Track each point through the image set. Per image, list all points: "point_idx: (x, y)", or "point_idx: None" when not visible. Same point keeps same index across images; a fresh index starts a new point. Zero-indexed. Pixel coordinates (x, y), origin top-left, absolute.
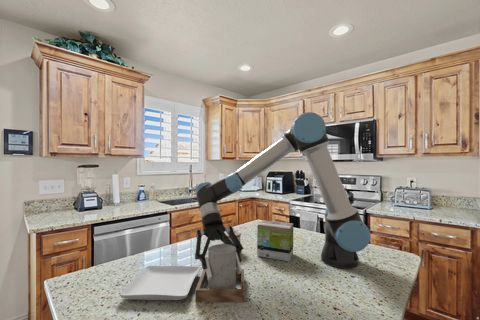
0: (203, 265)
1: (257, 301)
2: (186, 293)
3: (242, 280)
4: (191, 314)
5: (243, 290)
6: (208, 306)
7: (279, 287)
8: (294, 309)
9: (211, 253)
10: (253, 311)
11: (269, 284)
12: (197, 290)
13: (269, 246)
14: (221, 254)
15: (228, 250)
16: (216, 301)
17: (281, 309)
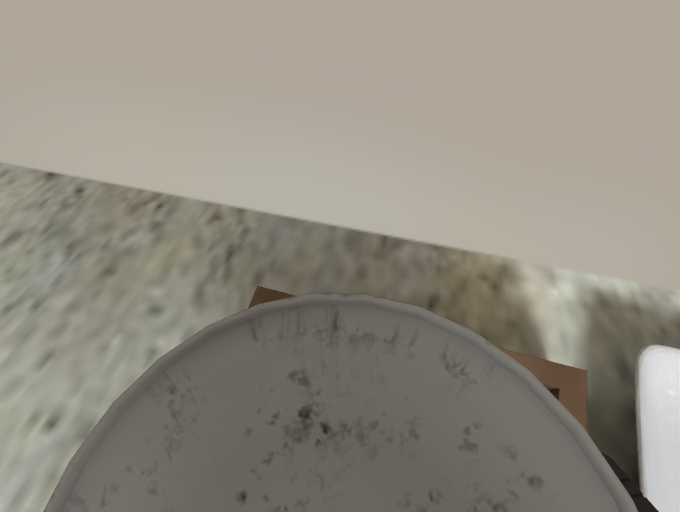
0: (616, 472)
1: (209, 301)
2: (648, 416)
3: None
4: (557, 274)
5: (259, 290)
6: (469, 319)
7: (15, 405)
8: (101, 215)
9: (566, 426)
10: (262, 236)
11: (38, 464)
12: (570, 367)
13: None
14: (386, 299)
15: (216, 480)
16: None
17: (147, 225)
